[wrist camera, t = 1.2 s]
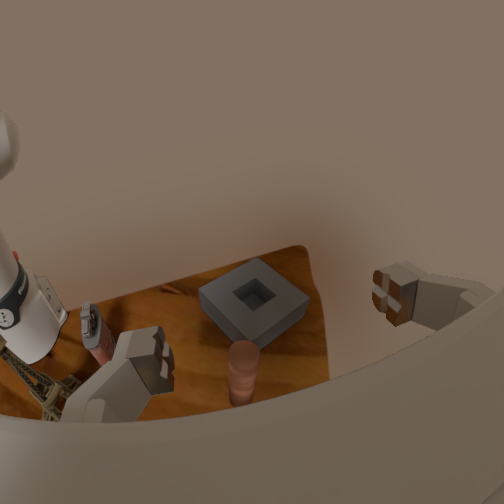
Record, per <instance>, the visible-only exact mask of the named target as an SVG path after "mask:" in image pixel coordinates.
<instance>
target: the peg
mask: <svg viewBox="0 0 504 504" xmlns="http://www.w3.org/2000/svg"><path fill="white" fill-rule="evenodd" d="M259 359H260V350H259V348H258V346H257V345H256V344H254V343H253V342H251V341H247V340H241V341H237V342H235V343H233V344H232V345H231V347H230V348H229V351H228V363H229V396H230V402H231V404H232V405H233V406H234V407H240V406H244V405H248V404H251V402H252V397H253V392H254V387H255V381H256V376H257V370H258V365H259Z"/></svg>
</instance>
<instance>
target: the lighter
mask: <svg viewBox="0 0 504 504" xmlns="http://www.w3.org/2000/svg"><path fill="white" fill-rule="evenodd" d="M80 317H81V320H82V323H81V334H82V340H83V344H84V346H85V347H86V348H87V349H88V350H89V351H90V352H91V353H92V355H93V356H94V357H95V358H96V360H97V361H98V362H99V364H100V366H101V367H102V366H103V365H104V364H106V363H107V362H108V361H112V358H113V355H114V351H115V348H116V344H115V340H114V336H113V334H112V332H111V330H109V329H108V327H107V325H106V324H105V322H104V320H103V318H102V316H101V313H100V310H99V308H98V306H97V305H94V304H90V302H89V301H85V302H84V303H83V309H82V311H80Z"/></svg>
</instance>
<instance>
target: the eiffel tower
mask: <svg viewBox="0 0 504 504" xmlns="http://www.w3.org/2000/svg"><path fill="white" fill-rule="evenodd" d="M6 343H7V341H6V340H5V339H4V338H3V337H2V336H1V334H0V355H1V356H2V358H3V359H4V360H5V361H6V362H7V363H8V365H9V366H10V367H11V368H12V369H13V370H14V372H15V373H16V374H17V375H18V376H19V377H20V379H21V380H22V381H23V382H24V383H25V384H26V385H27V386H28V387H29V389H30V391H29V393H30V394H31V395H32V396H33V397H34V398H35V399H36V400H37V401H38V402H39V403H40V406H41V407H42V408H43V416H42V418H41V420H42V421H54V422H57V421H58V422H60V419H61V415H62V413H61V412H60V411H59V410H58V409H57V408H56V404H57V402H58V400H59V399H60V398H61V397H64V398H66V399H67V398H69V397H70V396H71V395H72V394H73V393H74V392H75V391H76V390H77V389H78V388H79V386H80V385H81V383H82V382H81V381H80V380H78V379H77V378H76V377H74V376H73V375H72V374H70V375H69V376H68V377H67V378H66V379H64V380H62V381H61V382H60V381H59V380H58V379H56V381H55V380H53V379H52V378H51V377H50V376H49V375H47V374H46V373H45V372H43V371H42V373H41V374H40V373H39V372H38V371H36V370H35V369H33V368H32V367H31V366H29V365H28V364H27V363H25V362H24V361H23V360H21V359H20V358H19V357H18V356H17V355H15V354H14V353H13V352H12V351H11V350H10V349H9V348H7V347H6V346H5V345H6ZM10 358H11V359H12V360H13V361H14V362H15V363H16V364H17V365H18V366H19V367H20V368H21V369H22V370H23V371H24V372H25V373H27V374H28V375H30V376H31V377H32V378H34V379H35V380H37V382H36V383H35V384H34V383H33V382H32V381H31V380H30V379H29V378H28V377H27V375H26V374H25V373H24V372H23V371H22V370H21V369H20V368H19V367H18V366H17V365H16V364H15V363H14V362H13V361H12V360H11V359H10ZM49 389H50V391H49V392H48V390H49ZM47 392H48V394H47V395H46V393H47ZM45 395H46V396H45Z"/></svg>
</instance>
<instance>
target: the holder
mask: <svg viewBox="0 0 504 504" xmlns="http://www.w3.org/2000/svg"><path fill="white" fill-rule="evenodd" d="M199 297H200V305H201V308H202V309H203V310H204V312H205V313H206V314H207V315H208V316H209V317H210V318H211V319H212V320H213V321H214V322H215V323H216V324H217V326H218V327H219V328H220V329H221V330H222V331H223V332H224V333H225V334H226V335H227V336H228V337H229V338H230V339H231V340H232V341H233V342H234V343H235V342H237V341H241V340H247V341H251V342H253V343H254V344H256V345H257V346H258V348H259V350H261V349H262V348H263V347H265V346H266V345H267V344H269V343H270V342H271V341H273V340H274V339H275V338H277V337H278V336H279V335H281V334H282V333H283V332H285V331H286V330H287V329H288V328H290V327H291V326H292V325H293V324H295V323H296V322H297V321H299V320H300V319H301V318H302V317H304V315H305V312H306V309H307V306H308V302H309V299H310V297H308V296H307V295H306V294H304V293H303V292H302V291H301V290H299V289H298V288H297V287H295V286H294V285H293V284H292V283H290V282H289V281H288V280H286V279H285V278H284V277H282V276H281V275H280V274H279V273H277V272H276V271H275V270H273V269H272V268H271V267H269V266H268V265H267V264H266V263H264V262H263V261H262V260H260V259H259V258H258V257H256V258H254V259H252V260H250V261H249V262H247V263H245V264H243V265H241V266H239V267H238V268H236V269H234V270H232V271H230V272H228V273H226V274H225V275H223V276H221V277H219V278H217V279H215V280H213V281H212V282H210V283H208V284H206V285H204V286H202V287H200V288H199Z"/></svg>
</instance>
